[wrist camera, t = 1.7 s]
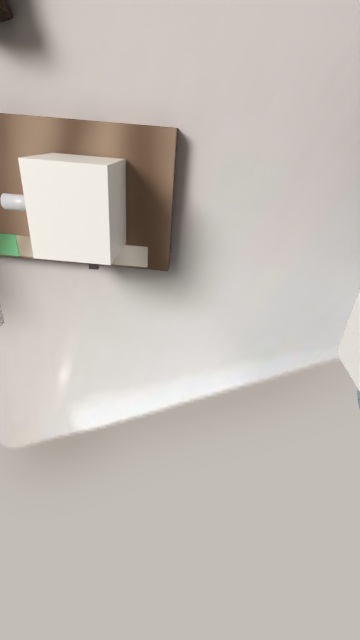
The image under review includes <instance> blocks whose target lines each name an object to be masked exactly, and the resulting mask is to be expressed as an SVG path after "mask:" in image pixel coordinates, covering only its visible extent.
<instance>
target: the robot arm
mask: <svg viewBox="0 0 360 640" xmlns="http://www.w3.org/2000/svg"><path fill="white" fill-rule="evenodd" d="M3 323H4V319H3V315H2V311H1V306H0V326H1V325H2V324H3ZM336 353H337V355H338V357H339V358H340V360H341V362H342V363H343V365H344V367H345V368H346V370H347V371H348V373H349V375H350V376H351V378H352V380H353V381H354V383H355V385H356V386H357V388H358V403H359V408H360V290H359V293H358V295H357V298H356V301H355V303H354V306H353V309H352V311H351V314H350V317H349V319H348V322H347V325H346V328H345V330H344V333H343V336H342V338H341V341H340V344H339V346H338V349H337V352H336Z"/></svg>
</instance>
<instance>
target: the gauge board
mask: <svg viewBox="0 0 360 640" xmlns="http://www.w3.org/2000/svg"><path fill="white" fill-rule="evenodd" d="M177 129H178V128H172V127H160V126H148V125H136V124H124V123H112V122H100V121H88V120H76V119H64V118H52V117H40V116H28V115H16V114H4V113H0V198H1V195H2V194H3V193H8V194H20V195H24V193H23V187H22V181H21V174H20V168H19V161H18V158H20V157H27V156H34V155H41V154H48V153H62V154H74V155H85V156H97V157H109V158H121V159H126V244H125V245H124V247H123V248H122V250H121V251H120V252H119V254H118V255H117V257H116V258H115V260H114V261H113V263H112V264H111V265H108V266H119V267H130V268H141V269H152V270H163V271H168V269H169V263H170V246H171V229H172V213H173V196H174V179H175V162H176V145H177ZM0 256H9V257H20V258H31V259H36V258H33V251H32V245H31V239H30V232H29V226H28V219H27V213H26V211H20V210H9V209H4V208H3V207H2V205H1V201H0ZM42 260H47V259H42ZM53 261H58V260H53ZM64 262H69V261H64ZM75 263H80V262H75ZM86 264H89V263H86ZM99 265H103V264H99Z"/></svg>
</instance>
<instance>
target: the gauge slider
mask: <svg viewBox="0 0 360 640" xmlns="http://www.w3.org/2000/svg"><path fill="white" fill-rule="evenodd" d="M18 161H19V168H20V174H21V181H22V187H23V193H24V195H20V194H8V193H3V194H2V195H1V198H0V201H1V205H2V207H3V208H4V209H9V210H20V211H26V213H27V219H28V226H29V232H30V239H31V245H32V251H33V258H36V259H47V260H58V261H69V262H80V263H89V269H98V268H99V264H103V265H111V264H112V263H113V261H114V260H115V258H116V257H117V255H118V254H119V252H120V251H121V250H122V248H123V247H124V245H125V244H126V159H121V158H109V157H97V156H85V155H74V154H62V153H48V154H41V155H34V156H27V157H20V158H18Z"/></svg>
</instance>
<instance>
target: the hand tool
mask: <svg viewBox="0 0 360 640" xmlns="http://www.w3.org/2000/svg"><path fill="white" fill-rule="evenodd" d="M12 18H13V14H12V12H11V10H10V8H9V7H8V6H7V5H6V3H5V0H0V22H2V21H6V20H10V19H12Z"/></svg>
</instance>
